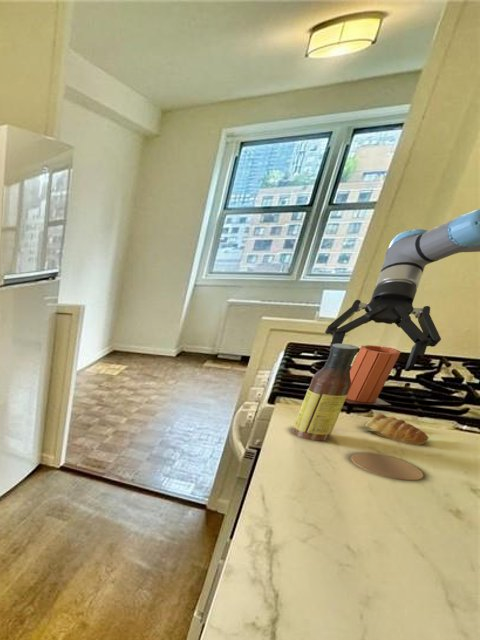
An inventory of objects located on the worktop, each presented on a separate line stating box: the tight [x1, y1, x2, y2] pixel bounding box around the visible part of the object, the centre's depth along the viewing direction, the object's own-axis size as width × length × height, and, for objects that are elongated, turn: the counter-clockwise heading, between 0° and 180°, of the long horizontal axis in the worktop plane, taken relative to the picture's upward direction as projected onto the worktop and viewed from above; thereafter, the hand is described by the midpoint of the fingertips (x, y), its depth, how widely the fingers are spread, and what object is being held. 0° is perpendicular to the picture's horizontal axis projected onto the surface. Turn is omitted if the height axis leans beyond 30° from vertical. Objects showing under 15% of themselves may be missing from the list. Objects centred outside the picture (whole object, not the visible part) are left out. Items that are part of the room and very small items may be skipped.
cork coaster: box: [350, 452, 424, 481], centre depth 92 cm, size 10×10×1 cm
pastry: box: [365, 413, 430, 446], centre depth 102 cm, size 9×7×4 cm
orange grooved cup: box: [346, 344, 401, 402], centre depth 116 cm, size 7×7×12 cm
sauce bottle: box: [293, 343, 360, 442], centre depth 100 cm, size 6×6×20 cm
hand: (370, 363), depth 117 cm, fingers open, 13 cm apart
